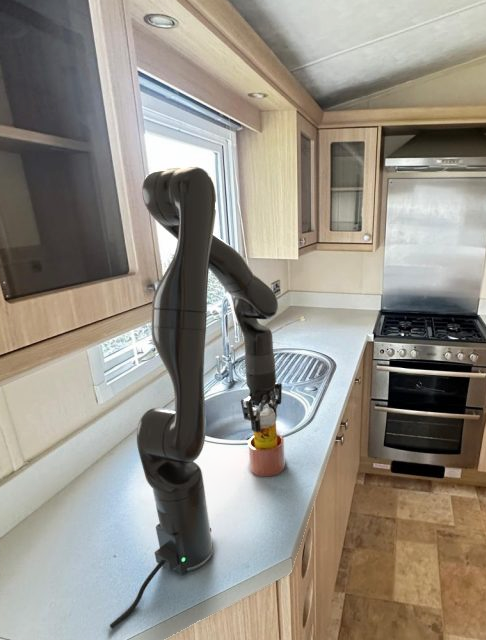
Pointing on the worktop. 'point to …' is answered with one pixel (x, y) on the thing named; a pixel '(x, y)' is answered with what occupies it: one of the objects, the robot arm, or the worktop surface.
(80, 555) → the worktop surface
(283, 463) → the holder
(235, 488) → the worktop surface
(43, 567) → the worktop surface
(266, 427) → the yellow labelled bottle
